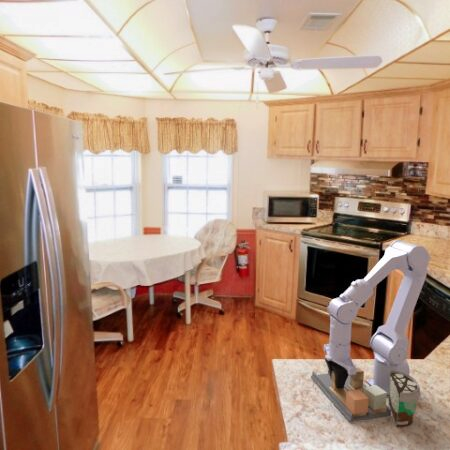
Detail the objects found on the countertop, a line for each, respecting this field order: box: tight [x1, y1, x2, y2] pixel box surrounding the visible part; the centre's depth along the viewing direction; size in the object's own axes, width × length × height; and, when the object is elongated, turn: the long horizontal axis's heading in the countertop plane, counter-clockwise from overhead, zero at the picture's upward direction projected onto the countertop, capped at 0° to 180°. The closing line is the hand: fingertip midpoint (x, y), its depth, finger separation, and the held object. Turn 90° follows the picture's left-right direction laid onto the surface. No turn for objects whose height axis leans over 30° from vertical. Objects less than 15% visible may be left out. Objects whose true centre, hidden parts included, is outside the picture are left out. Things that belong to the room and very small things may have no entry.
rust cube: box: [346, 390, 369, 415], centre depth 101 cm, size 4×4×4 cm
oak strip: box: [329, 371, 366, 417], centre depth 105 cm, size 4×12×6 cm, turn 13°
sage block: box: [364, 385, 388, 410], centre depth 103 cm, size 4×4×4 cm
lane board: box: [310, 369, 392, 423], centre depth 110 cm, size 12×22×2 cm, turn 13°
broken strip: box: [348, 367, 387, 414], centre depth 106 cm, size 4×12×6 cm, turn 13°
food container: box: [387, 370, 421, 428], centre depth 100 cm, size 12×6×10 cm, turn 168°
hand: (337, 385), depth 110 cm, fingers closed on oak strip, 2 cm apart
